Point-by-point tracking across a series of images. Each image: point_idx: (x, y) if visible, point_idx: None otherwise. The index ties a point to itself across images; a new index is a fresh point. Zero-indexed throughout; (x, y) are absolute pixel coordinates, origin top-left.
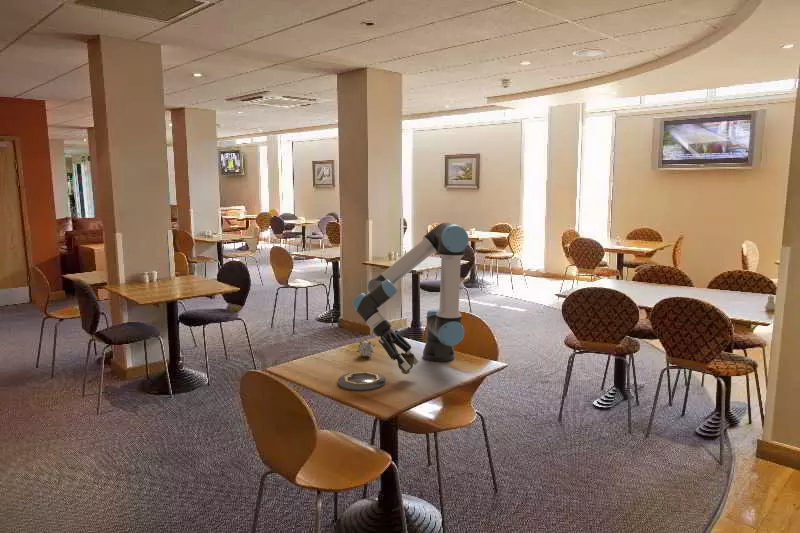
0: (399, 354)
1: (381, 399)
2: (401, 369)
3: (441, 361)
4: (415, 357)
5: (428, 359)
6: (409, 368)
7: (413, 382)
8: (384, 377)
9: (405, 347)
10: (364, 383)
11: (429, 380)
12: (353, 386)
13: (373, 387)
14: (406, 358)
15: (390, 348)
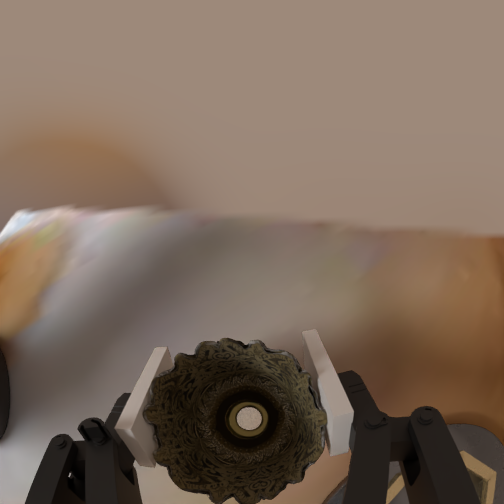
0: (218, 497)
1: (496, 319)
2: (291, 424)
3: (5, 363)
4: (153, 370)
5: (6, 413)
6: (264, 374)
7: None
8: (340, 493)
9: (120, 474)
10: (481, 462)
11: (201, 307)
12: (500, 473)
13: (467, 424)
14: (179, 445)
15: (465, 480)
